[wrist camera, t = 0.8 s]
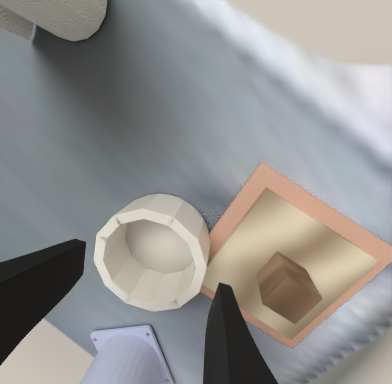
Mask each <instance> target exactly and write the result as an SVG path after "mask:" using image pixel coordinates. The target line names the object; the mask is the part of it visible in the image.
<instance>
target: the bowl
mask: <svg viewBox="0 0 392 384" xmlns="http://www.w3.org/2000/svg"><path fill="white" fill-rule="evenodd" d="M210 243H211V242H210V238H209V231H208V227H207V224H206V222H205V220H204V218H203V217H202V215H201V214H200V212H199V211H198V210H197V209H196V208H195V207H194V206H193V205H192V204H190V203H189V202H187V201H186V200H184V199H182V198H180V197H177V196H174V195H170V194H163V193H158V194H150V195H147V196H144V197H142V198H139V199H135V200H134V201H133V202H131V203H130V204H129V205H127V206H126V207H125V208H123V209H122V210H120V211H119V212H118V213H116V214H115V215H114V216H113V217H112V218H111V219H110V220H109V221H108V223H107V224H106V225H105V226H104V227H103V228H102V229H101V230H100V231H99V233H98V234H97V236H96V245H95V254H94V262H95V264H96V266H97V268H98V271H99V273H100V275H101V277H102V280H103V282H104V284H105V285H106V286H107V287H108V288H109V289H110V290H112V291H113V292H114V293H115V294H116V295H117V296H118V297H120V298H121V299H122V300H123V301H124V302H125V303H128V304H131V305H134V306H137V307H140V308H143V309H146V310H149V311H160V310H168V309H176V308H180V307H181V306H182V305H184V304H185V303H186V302H188V301H189V300H190V299H192V298H193V297H194V296H195V295H197V294H198V293H199V291H200V288H201V285H202V282H203V278H204V275H205V272H206V268H207V263H208V256H209V250H210Z"/></svg>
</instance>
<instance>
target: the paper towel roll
mask: <svg viewBox="0 0 392 384" xmlns="http://www.w3.org/2000/svg"><path fill="white" fill-rule="evenodd" d="M106 8H107V0H0V27H1V28H3V29H5V30H8V31H10V32H12V33H14V34H16V35H19V36H21V37H23V38H25V39H27V40H29V39H30V37H31V34H32V31H33V24H36V25H38V26H40V27H42V28H43V29H45V30H47V31H49V32H51V33H52V34H54V35H56V36H58V37H60V38H63V39H67V40H70V41H79V40H83V39H88V38H89V37H90V36H91V35H92V34H94V33H95V32H96V31H97V30H98V29H99V27H100V25H101V23H102V21H103V19H104V17H105V15H106Z"/></svg>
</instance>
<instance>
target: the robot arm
mask: <svg viewBox="0 0 392 384" xmlns="http://www.w3.org/2000/svg"><path fill="white" fill-rule="evenodd" d="M85 249H86V242H84V241H81V240H78V239H73V240H69V241H66V242H63V243H60V244H57V245H54V246H51V247H48V248H45V249H42V250H39V251H36V252H33V253H30V254H27V255H24V256H20V257H17V258H14V259H10V260H7V261H4V262H0V365H1V364H2V363H3V362H4V361H5V359H6V358H7V357H8V356H9V354H10V353H11V352H12V351H13V350H14V349H15V347H16V346H17V345H18V344H19V343H20V341H21V340H22V339H23V338H24V337H25V336H26V335H27V334H28V333H29V332H30V331H31V330H32V329H33V327H35V326H36V324H38V323H39V322H40V321H41V320H42V319H43V318H44V317H45V316H46V315H47V314H48V313H49V312H50V311H51V310H52V309H53V308H54V307H55V306H56V305H57V304H58V303H59V302H60V301H61V300H62V299H63V298H64V297H65V296H66V294H67V293H68V292H69V291H70V290H71V289H72V288H73V286H74V285H75V284H76V283H77V281H78V280H79V279H80V277H81V276H82V275H83V270H84V259H85ZM90 337H91V339H92V341H93V343H94V345H95V347H96V349H97V351H98V353H97V355H96V356H95V358H94V360H93V362H92V363H91V365H90V367H89V368H88V370H87V372H86V374H85V375H84V377H83V379H82V380H81V382H80V384H174V381H173V379H172V376H171V374H170V371H169V369H168V367H167V364H166V362H165V359H164V357H163V354H162V352H161V349H160V347H159V345H158V342H157V340H156V337H155V335H154V332H153V330H152V328H151V326H149V325H142V326H134V327H125V328H116V329H107V330H99V331H93V332H92V333H91V334H90ZM203 384H278V382H277V381H276V379H275V378H274V376H273V374H272V373H271V371H270V369H269V368H268V366H267V364H266V362H265V361H264V359H263V357H262V355H261V354H260V352H259V350H258V348H257V346H256V344H255V342H254V340H253V338H252V336H251V334H250V332H249V329H248V327H247V325H246V323H245V320H244V318H243V316H242V313H241V311H240V308H239V306H238V303H237V300H236V298H235V295H234V292H233V289H232V287H231V286H230V285H227V284H224V283H220V282H219V284H218V287H217V290H216V293H215V296H214V299H213V302H212V305H211V308H210V311H209V315H208V321H207V328H206V335H205V355H204V376H203Z"/></svg>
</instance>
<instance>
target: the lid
mask: <svg viewBox="0 0 392 384" xmlns="http://www.w3.org/2000/svg"><path fill="white" fill-rule="evenodd" d="M378 262H379V261H378V260H377V259H376V258H374V257H373V256H372V255H370V254H369V253H367V252H366V251H364V250H363V249H361V248H360V247H358V246H356V245H355V244H353V243H352V242H350V241H349V240H347V239H346V238H344V237H343V236H341V235H340V234H338V233H336V232H335V231H333V230H332V229H330V228H329V227H327V226H326V225H324V224H323V223H321V222H319V221H318V220H316V219H315V218H313V217H312V216H310V215H309V214H307V213H306V212H304V211H302V210H301V209H299V208H298V207H296V206H295V205H293V204H292V203H290V202H289V201H287V200H286V199H284V198H282V197H281V196H279V195H278V194H276V193H275V192H273V191H272V190H270V189H269V188H267V187H266V188H265V189H264V190H263V192H262V193H261V194H260V195H259V197H258V198H257V199H256V201H255V202H254V203H253V204H252V206H251V207H250V208H249V210H248V211H247V212H246V214H245V215H244V216H243V217H242V219H241V220H240V221H239V223H238V224H237V225H236V227H235V228H234V229H233V230H232V232H231V233H230V234H229V236H228V237H227V238H226V239H225V241H224V242H223V243H222V245H221V246H220V247H219V249H218V250H217V251H216V252H215V254H214V255H213V256H212V258H211V259H210V260H209V262H208V263H207V268H206V272H205V275H204V278H203V282H202V284H203V285H204V286H206V287H207V288H209V289H211V290H212V291H214V292H215V293H216V290H217V287H218V284H219V282H220V283H224V284H227V285H230V286H231V287H232V289H233V292H234V295H235V298H236V300H237V303H238V306H239V308H241V309H243V310H244V311H246V312H247V313H249V314H251V315H252V316H254V317H255V318H257V319H259V320H260V321H262V322H263V323H265V324H266V325H268V326H270V327H271V328H273V329H274V330H276V331H278V332H279V333H281V334H282V335H284V336H286V337H287V338H289V339H290V340H292V339H293V338H294V337H295V336H296V335H298V334H299V333H300V332H301V331H302V330H303V329H304V328H305V327H306V326H308V325H309V324H310V323H311V322H312V321H313V320H314V319H315V318H317V317H318V316H319V315H320V314H321V313H322V312H323V311H324V310H325V309H327V308H328V307H329V306H330V305H331V304H332V303H333V302H334V301H336V300H337V299H338V298H339V297H340V296H341V295H342V294H343V293H344V292H346V291H347V290H348V289H349V288H350V287H351V286H352V285H353V284H355V283H356V282H357V281H358V280H359V279H360V278H361V277H362V276H364V275H365V274H366V273H367V272H368V271H369V270H370V269H371V268H372V267H374V266H375V265H376V264H377V263H378Z"/></svg>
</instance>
